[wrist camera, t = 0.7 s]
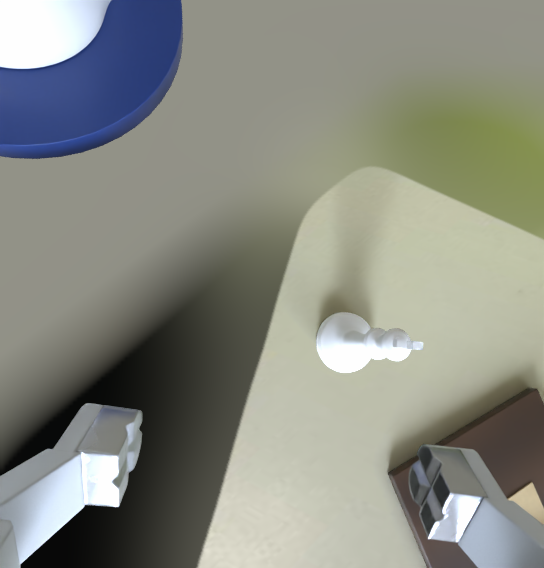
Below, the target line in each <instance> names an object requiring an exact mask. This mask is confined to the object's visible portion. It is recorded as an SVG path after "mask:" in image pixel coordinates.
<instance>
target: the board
mask: <svg viewBox="0 0 544 568" xmlns="http://www.w3.org/2000/svg"><path fill="white" fill-rule="evenodd" d="M435 445H437V446H446V447H454V448H465V449H473V450H475V451H476V452H477V453H478V454H479V456H480V457H481V459H482V460H483V462H484V463H485V465H486V467H487V468H488V470H489V471H490V473H491V474H492V476H493V478H494V479H495V481H496V482H497V484H498V485H499V487H500V489H501V490H502V492H503V493H504V495H505V496H506V498H507V500H510V501H514V502H515V503H517V504H518V505H519V506H520V507H522V508H523V509H524V510H525V511H527V512H528V513H529V514H530V515H532V516H533V517H534V518H535V519H537V520H538V521H539V522H540V523H542V524H543V525H544V403H543V401H542V399H541V397H540V394H539V392H538V390H537V389H535V388H528V389H527V390H525V391H523V392H522V393H520V394H518V395H517V396H515V397H513V398H512V399H510V400H508V401H507V402H505V403H503V404H502V405H500V406H498V407H497V408H495V409H493V410H492V411H490V412H488V413H487V414H485V415H483V416H482V417H480V418H479V419H477V420H475V421H474V422H472V423H470V424H469V425H467V426H465V427H464V428H462V429H460V430H459V431H457V432H455V433H454V434H452V435H450V436H449V437H447V438H445V439H444V440H442V441H440V442H439V443H437V444H435ZM418 460H419V457H418V455H417V456H416V457H414V458H412V459H411V460H409V461H407V462H406V463H404V464H402V465H401V466H399V467H397V468H396V469H394V470H392V471H391V472H389V473H388V475H389V478H390V480H391V482H392V485H393V487H394V489H395V492H396V494H397V497H398V499H399V501H400V504H401V506H402V508H403V511H404V513H405V516H406V518H407V520H408V523H409V525H410V527H411V530H412V532H413V535H414V537H415V539H416V542H417V544H418V546H419V549H420V551H421V553H422V556H423V558H424V561H425V563H426V565H427V568H478V567H477V566H476V565H475V564H474V562H473V561H472V560H471V559H470V558H469V557H468V555H467V554H466V553H465V552H464V551H463V550H462V548H461V547H460V546H459V545H458V543H457V542H449V541H442V540H434V539H428V537H427V534H426V532H425V529H424V527H423V524H422V521H421V519H420V516H419V513H420V510H421V507H420V506H419V505H418V504H417V503H416V502H415V501H414V500H413V498H412V495H411V492H410V488H409V471H410V469H411V466H412V464H414V463H415V462H416V461H418Z"/></svg>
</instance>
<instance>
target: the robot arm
mask: <svg viewBox="0 0 544 568" xmlns="http://www.w3.org/2000/svg"><path fill="white" fill-rule="evenodd" d="M110 1H111V0H0V67H5V68H14V69H30V68H39V67H45V66H49V65H53V64H56V63H59V62H62V61H64V60H66V59H69V58H70V57H72V56H74V55H76V54H77V53H79V52H80V51H81V50H83V49H84V48H85V47H86V46H87V45H88V44H89V43H90V42H91V41H92V40H93V39H94V37H95V36H96V34H97V33H98V31H99V29H100V27H101V25H102V23H103V20H104V16H105V13H106V10H107V7H108V5H109V3H110ZM141 422H142V412H141V411H140V410H134V409H127V408H120V407H113V406H107V405H105V406H104V405H96V404H90V403H86V404H85V405H84V406H82V407H81V409H80V410H79V412H78V413H77V415H76V416H75V418H74V419H73V421H72V422H71V424H70V425H69V427H68V428H67V429H66V431H65V432H64V434H63V436H62V437H61V438H60V440H59V441H58V443H57V444H56V446H55V447H54V449H46V450H45V451H43V452H41V453H40V454H38V455H36V456H35V457H33V458H31V459H29V460H27V461H26V462H24V463H22V464H21V465H19V466H17V467H15V468H14V469H12V470H10V471H9V472H7V473H5V474H3V475H2V476H0V568H21V567H20V564H21V563H22V562H23V561H24V560H25V559H26V558H28V557H29V556H30V555H31V554H32V553H33V552H34V551H35V550H37V549H38V548H39V547H40V546H41V545H42V544H43V543H44V542H45V541H46V540H48V539H49V538H50V537H51V536H52V535H53V534H54V533H55V532H56V531H58V530H59V529H60V528H61V527H62V526H63V525H64V524H65V523H67V522H68V521H69V520H70V519H71V518H72V517H73V516H74V515H76V514H77V513H78V512H79V511H80V510H81V509H82V508H83V507H84V504H87V505H100V506H114V507H119V504H120V502H121V499H122V497H123V494H124V492H125V489H126V487H127V484H128V473H129V472H130V471H131V470H133V469H134V467H135V464H136V461H137V459H138V455H139V451H140V447H141V440H142V433H141V432H140V430H139V427H140V425H141ZM417 455H418V457H419V460H418V461H416V462H415V463H414V464H412V466H411V469H410V471H409V488H410V492H411V495H412V498H413V500H414V501H415V502H416V503H417V504H418V505H419V506H420V507H421V510H420V513H419V516H420V519H421V521H422V524H423V527H424V529H425V532H426V534H427V537H428V539H434V540H442V541H449V542H457V543H458V545H459V546H460V547H461V548H462V550H463V551H464V552H465V553H466V554H467V555H468V557H469V558H470V559H471V560H472V561H473V562H474V564H475V565H476V566H477V567H478V568H544V525H543V524H542V523H540V522H539V521H538V520H537V519H535V518H534V517H533V516H532V515H530V514H529V513H528V512H527V511H525V510H524V509H523V508H522V507H520V506H519V505H518V504H517V503H515V502H514V501H510V500H507V498H506V496H505V495H504V493H503V492H502V490H501V489H500V487H499V485H498V484H497V482H496V481H495V479H494V478H493V476H492V474H491V473H490V471H489V470H488V468H487V467H486V465H485V463H484V462H483V460H482V459H481V457H480V456H479V454H478V453H477V452H476V451H475V450H473V449H465V448H454V447H446V446H437V445H427V444H423V445H422V446H420V447H419V450H418V452H417Z"/></svg>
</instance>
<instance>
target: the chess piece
mask: <svg viewBox="0 0 544 568" xmlns="http://www.w3.org/2000/svg"><path fill="white" fill-rule="evenodd" d="M316 345H317V350H318V353H319V356H320V357H321V359H322V361H323V362H324V363H325V364H326V365H327V366H328V367H329V368H331V369H333V370H335V371H338V372H353V371H357V370H359V369H361V368H362V367H364V366H365V365H366V364H367V363H368V362H369V360H370V358H373V359H383V358H385V357H387V358H389V359H391V360H394V361H400V360H403V359H405V358H406V357H407V356H408V355H409V353H410V351H411V349H418V350H423V342H418V341H411V340H410V337H409V336H408V334H407V333H406V332H405V331H404V330H402V329H399V328H392V329H389V330H388V331H385V330H383V329H381V328H373V329H371V328H370V326H369V324H368V323H367V322H366V321H365V320H364V319H363V318H361V317H360V316H358V315H356V314H353V313H348V312H339V313H335V314H333V315H331V316H329V317H328V318H327V319H325V320H324V322H323V323H322V324H321V326H320V328H319V330H318V333H317V338H316Z"/></svg>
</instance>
